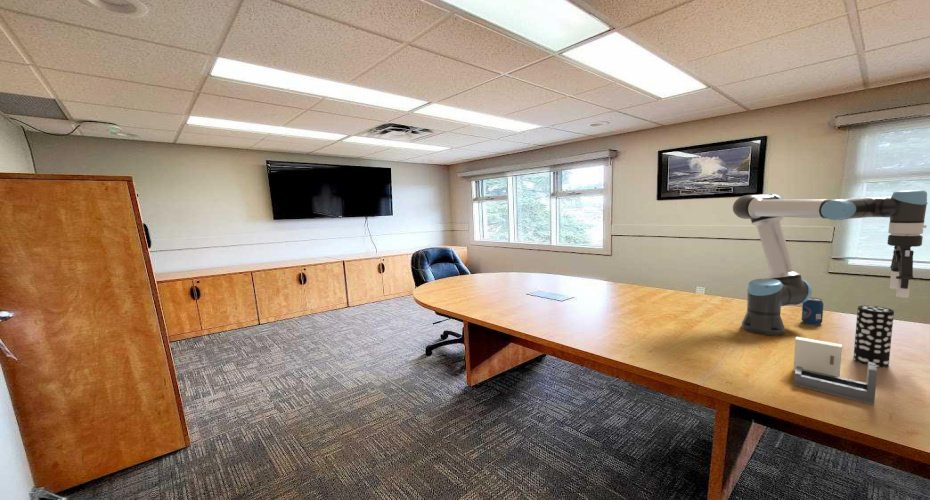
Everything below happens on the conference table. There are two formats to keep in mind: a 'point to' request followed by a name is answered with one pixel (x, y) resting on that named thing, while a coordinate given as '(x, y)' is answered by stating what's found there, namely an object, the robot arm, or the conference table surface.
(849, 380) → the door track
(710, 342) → the conference table surface
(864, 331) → the white-spotted black cylinder
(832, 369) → the door panel
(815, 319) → the soda can
